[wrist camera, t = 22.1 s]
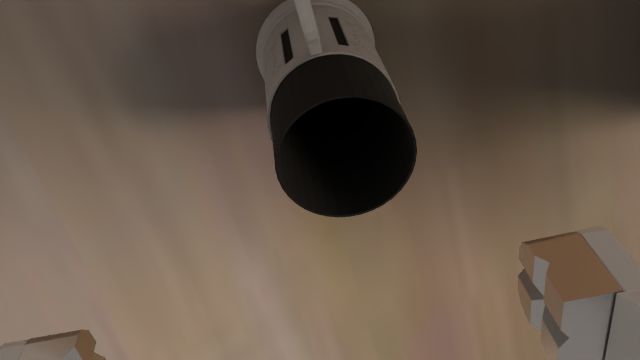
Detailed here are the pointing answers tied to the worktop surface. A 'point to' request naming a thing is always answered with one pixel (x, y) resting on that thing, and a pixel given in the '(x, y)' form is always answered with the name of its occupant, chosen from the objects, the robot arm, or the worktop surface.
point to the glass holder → (332, 109)
